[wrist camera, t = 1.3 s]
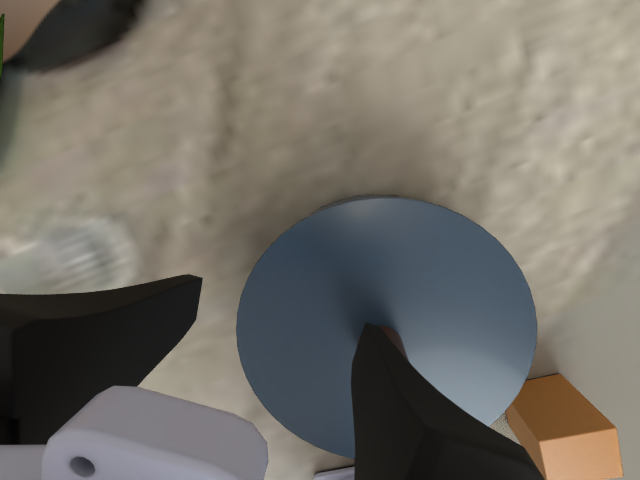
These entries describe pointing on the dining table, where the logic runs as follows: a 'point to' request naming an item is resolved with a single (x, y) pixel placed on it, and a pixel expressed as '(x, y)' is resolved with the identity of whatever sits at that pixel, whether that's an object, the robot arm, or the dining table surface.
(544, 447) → the wooden brick
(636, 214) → the dining table surface
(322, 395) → the pot lid
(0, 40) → the corn
